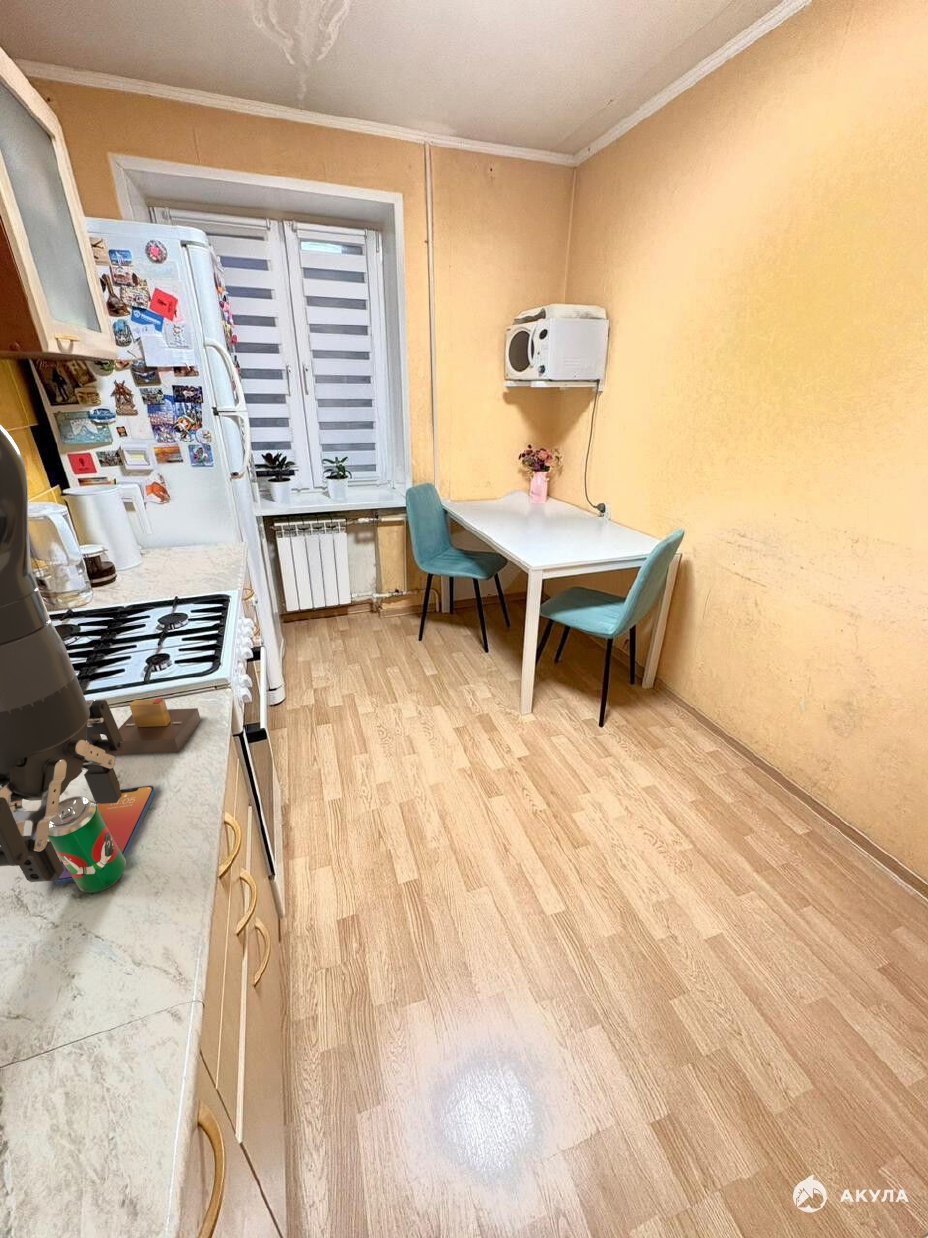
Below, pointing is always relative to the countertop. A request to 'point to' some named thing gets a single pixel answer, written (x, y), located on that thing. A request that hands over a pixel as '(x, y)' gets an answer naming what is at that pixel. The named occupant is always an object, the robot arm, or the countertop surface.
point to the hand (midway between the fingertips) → (82, 836)
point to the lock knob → (150, 713)
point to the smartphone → (122, 819)
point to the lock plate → (159, 733)
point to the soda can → (86, 845)
